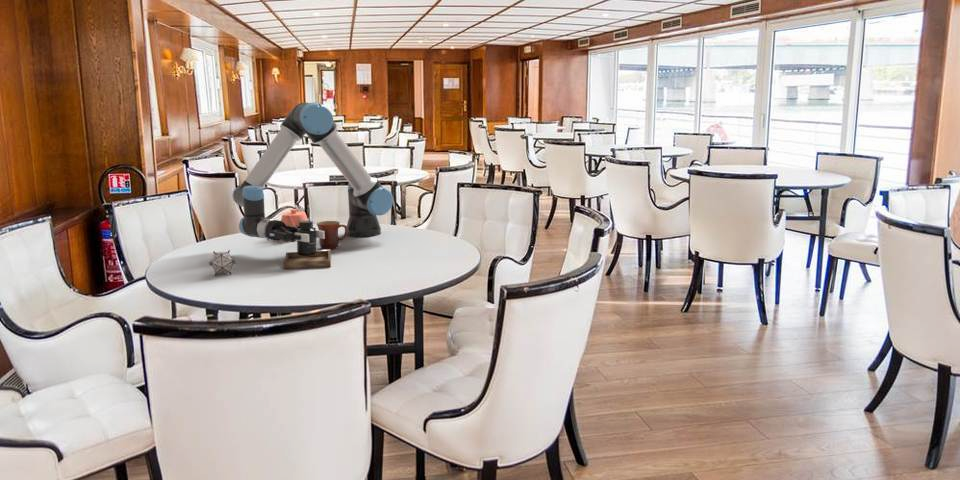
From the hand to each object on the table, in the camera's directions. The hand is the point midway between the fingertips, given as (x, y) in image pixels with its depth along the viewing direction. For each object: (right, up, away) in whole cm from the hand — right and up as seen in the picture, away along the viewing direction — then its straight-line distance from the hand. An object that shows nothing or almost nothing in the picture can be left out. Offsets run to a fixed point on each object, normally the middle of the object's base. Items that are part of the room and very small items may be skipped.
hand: (316, 236), depth 252 cm
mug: (0, -5, +29) cm, 29 cm away
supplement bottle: (-4, -7, +4) cm, 9 cm away
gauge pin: (-4, -7, +17) cm, 19 cm away
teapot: (-21, 0, +50) cm, 54 cm away
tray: (-4, -10, +5) cm, 11 cm away
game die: (-29, -13, -10) cm, 34 cm away
